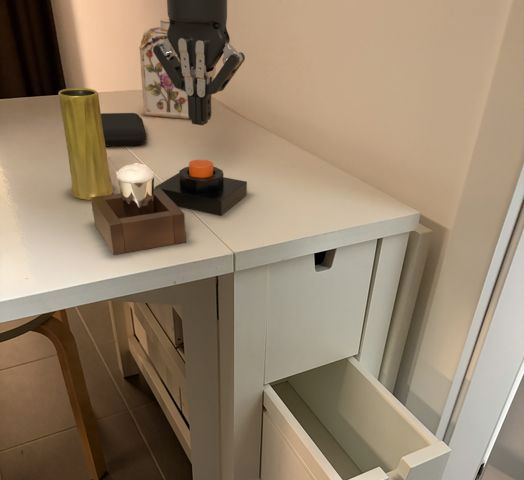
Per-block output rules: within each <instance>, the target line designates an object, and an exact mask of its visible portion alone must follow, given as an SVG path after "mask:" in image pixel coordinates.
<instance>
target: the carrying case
mask: <svg viewBox="0 0 524 480" xmlns="http://www.w3.org/2000/svg"><path fill="white" fill-rule="evenodd" d="M101 120H102V127H103V134H104V139H105V146H106V147H123V146H124V147H125V146H127V147H128V146H141V145H143V144H144V143H145V141H146V140H147V136H148V135H147V131H146V128H145V124H144V121H143V118H142V117H141V116H140V115H139V114H138V113H136V112H103V113H101Z"/></svg>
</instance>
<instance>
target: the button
mask: <svg viewBox="0 0 524 480" xmlns="http://www.w3.org/2000/svg"><path fill="white" fill-rule="evenodd" d="M188 167H189V175H190V176H193V177H198V178H204V177H210V176H213V167H214V162H213V161H211V160H209V159H193V160H191V161H189V162H188Z"/></svg>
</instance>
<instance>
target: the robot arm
mask: <svg viewBox="0 0 524 480" xmlns="http://www.w3.org/2000/svg"><path fill="white" fill-rule="evenodd" d="M166 5H167V6H166V7H167V8H166V9H167V10H166V12H167V17H168V19H169V20H170V24H169V28H168V31H167V39H165V40H164V41H163V42H162V43H161V44H160V45H156V46H154V48H153V52H154V54H155V55H156V57H157V59H158V60H159V62H160V64H161V65H162V67H163V68H164V70H165V72H166V73H167V75H168V76H169V78H170V80H171V81H172V83H173V84H174V86H175V87H176V88H177V89H182V90H183V91H185V92H186V93H187V96H188V116H189V118H190V119H189V120H191V124H192V125H196V126H197V125H198V126H204V125H207V124H208V123H209V121H210V120H211V118H212V95H215V94H217V93H218V92H222V91H224V90H225V88H226V87H227V85H228V84H229V83H230V81H231V80H232V79H233V77H234V76H235V75H236V73H237V71H238V70H239V68H240V67H241V66H242V65H243V63H244V62H245V58H246V56H245V54H244V53H243V52H242V51H240V52H238V51H237V49H236V48H234V46H233V45H232V44H231V43H230V41H231V38H230V34H229V31H228V29H227V22H228V0H166ZM175 54H177V56H178V58H179V59H180V61H181V64H180V62H179V61H178V59H177V58H176V56H175ZM222 56H223V57H222ZM221 58H222V63H223V65H222V66H221V68H220V69H219V71H218V72H217V71H216V70H217V68H216V67H217V64H218V63H219V61H221V60H220V59H221ZM216 72H217V74H216Z"/></svg>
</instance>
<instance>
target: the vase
mask: <svg viewBox="0 0 524 480" xmlns="http://www.w3.org/2000/svg"><path fill="white" fill-rule="evenodd" d="M58 100H59V107H60V112H61V118H62V123H63V131H64V137H65V143H66V150H67V156H68V157H67V158H68V164H69V173H70V178H71V195H72V196H73V197H75V198H77V199H80V200H84V201H85V200H87V201H91V197H97V196H104V195H111V194H114V188H113V187H114V186H113V183H112V179H111V173H110V168H109V159H108V154H107V153H108V152H107V146H105V139H104V134H103V127H102V120H101V114H102V113H101V105H100V97H99V91H97V90H95V89H92V88H85V87H75V88H74V87H72V88H65V89H64V88H63V89H61V90H59V91H58Z"/></svg>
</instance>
